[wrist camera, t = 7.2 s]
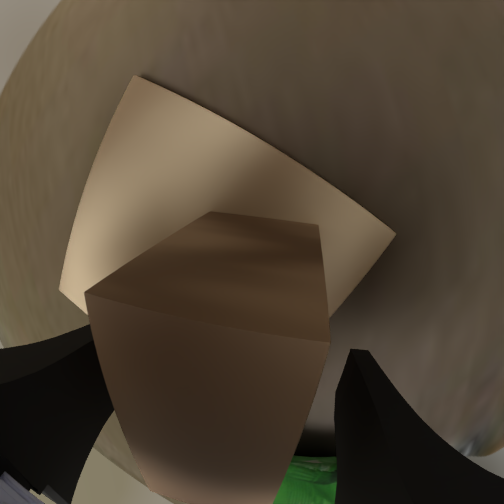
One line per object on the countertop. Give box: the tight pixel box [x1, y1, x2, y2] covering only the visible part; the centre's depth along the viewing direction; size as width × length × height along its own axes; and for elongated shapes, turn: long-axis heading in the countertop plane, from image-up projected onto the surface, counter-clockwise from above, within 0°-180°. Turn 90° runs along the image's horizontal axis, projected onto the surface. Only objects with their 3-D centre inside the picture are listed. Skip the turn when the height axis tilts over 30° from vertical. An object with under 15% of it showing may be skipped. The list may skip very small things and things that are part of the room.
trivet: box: [59, 75, 396, 318], centre depth 12 cm, size 12×12×1 cm
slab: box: [84, 211, 331, 504], centre depth 9 cm, size 4×8×7 cm, turn 175°
